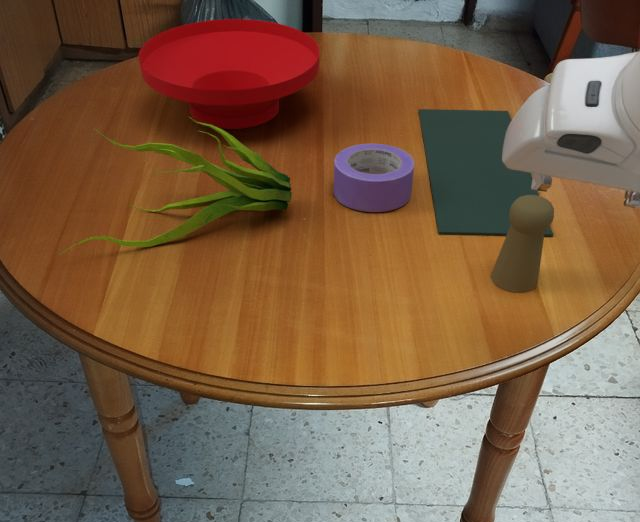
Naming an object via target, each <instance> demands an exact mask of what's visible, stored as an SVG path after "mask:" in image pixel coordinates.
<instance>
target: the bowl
mask: <svg viewBox="0 0 640 522" xmlns="http://www.w3.org/2000/svg"><path fill="white" fill-rule="evenodd" d="M320 55H321V51H320V47H319V45H318V43H317V42H316V41H315V39H314V38H312V37H311V36H310V35H308V34H307V33H305V32H303V31H301V30H299V29H297V28H295V27H292V26H289V25H285V24H282V23H278V22H273V21H267V20H258V19H245V18H244V19H243V18H224V19H210V20H203V21H196V22H192V23H186V24H183V25H179V26H175V27H172V28H169V29H166V30H164V31H162V32H160V33H158V34H156V35H154V36H153V37H151V38H150V39H148V40H147V41H146V42H145V43H144V44H143V45H142V46H141V48H140V49H139V51H138V55H137V57H138V63H139V68H140V74H141V77H142V79H143V80H144V82H145V83H146V85H148V87H150V88H151V89H153V90H154V92H155V91H156V92H157V93H159V94H161V95H163V96H165V97H168V98H171V99H174V100H176V101H177V100H178V101H181V102H185V103H187V104H188V106H189V115H190V116H191V118H192V119H193V120H195V121H196V122H200V123H205V124H210V125H213V126H215V127H218V128H220V129H222V130H242V129H247V128H254V127H258V126H260V125H263V124H266V123H267V122H270V121H271V120H273V118H275V117H276V116H277V115H278V113H279V110H280V101H279V100H280V99H282V98H284V97H287V96H290V95H292V94H295V93H296V92H298V91H301V90H303V89H304V88H306V87H307V86H308V85H310V84H311V83H312V82H313V81H314V80H315V78H316V77H317V75H318V74H319V70H320Z"/></svg>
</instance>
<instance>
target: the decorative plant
mask: <svg viewBox="0 0 640 522" xmlns="http://www.w3.org/2000/svg"><path fill="white" fill-rule="evenodd" d="M187 118H189V119H190V120H192V121H193V122H194V123H196V124H198V125H202V126H204V127H208V128H210V129H211V130H214V131H215V132H216V133H218V134H220V135H221V136H222V137H223V138H224V140H225V141H226V142H227V143H228V145H229V146H226V145H224V144H222V145H221V140H220V139H219V138H218V137H217V136H216V135H213V134H211V133H209V132H206V131H201V130H198V132H200V133H203V134H207V135H209V136H211V137H212V138H214V139H216V141H217V143H218V152H219V157H220V160H221V163H222V166H224V167H225V168H223V167H221V166H219V165H216V164H214V163H212V162H210V161H208V160H207V159H205V158H204V157H202V156H201V154H197V153H195V152H192V151H190V150H187V149H185V148H183V147H181V146H177V145H176V144H172V143H161V142H147V143H143V144H137V145H134V146H133V145H127V144H121V143H118V142H116V141H114V140H113V139H110V138H108V137H107V136H105V135H104V134H102V133H101V132H100V131H99V130H97V129H96V128H94V131H96V132H97V133H99V134H100V136H103V137H104V138H105V139H106V140H108V141H109V142H110V143H112V144H113V145H115V146H118V147H121V148H122V149H127V150H133V151H136V152H154V153H157V154H161V155H164V156H168V157H171V158H174V159H176V160H178V161H181V162H184V163H187V164H190V165H192V166H194V167H190V168H184V169H175V170H169V171H165V173H198V172H202V173H204V174H206V175H208V176H209V177H210V178H211V179H213V180H214V181H215V182H216V183H218V184H220V185H221V186H223V187H225V188H226V189H228V190H224V191H219V192H216V193H212V194H207V195H203V196H199V197H195V198H190V199H188V200H183V201H177V202H173V203H168V204H166V205H164V206H163V207H161V208H159V209H155V210H153V209H146V208H141V207H138V206H135V205H131V204H127V206H130V207H133V208H136V209H138V210H141V211H147V212H151V213H162V212H165V211H168V210H169V211H170V210H187V209H188V210H189V209H196V208H201V207H202V209H200V210H199V211H198V212H196V213H195V214H194V215H192V216H191V217H189V218H188V219H186V221H184V222H183V223H181V224H180V225H178V226H177V227H175V228H171V229H170V230H168V231H166V232H163V233H161V234H159V235H157V236H155V237H152V238H150V239H148V240H122V239H119V238H114V237H109V236H106V235H102V236H101V235H100V236H90V237H88V238H86V239H83V240H81V241H79V242H76V243H74V244H72V245H71V246H69V247H68V248H67V249H65V250H64V251H62V252H61V253H59V254H58V256H61V255H63V254H64V253H66V252H67V251H68V250H70V249H71V248H73V247H75V246H78V245H80V244H83V243H85V242H88V241H92V240H103V241H104V240H105V241H109V242H111V243H113V244H117V245H120V246H122V247H135V248H137V247H138V248H150V247H154V246H157V245H161V244H164V243H167V242H171V241H174V240H178V239H181V238H183V237H185V236H187V235H188V234H190V233H192V232H194V231H196V230H197V229H200V228H201V227H204V226H205V225H207V224H209V223H211V222H213V221H215V220H217V219H219V218H221V217H223V216H225V215H227V214H229V213H231V212H232V213H233V212H240V211H258V212H265V211H272V210H279V211H287V210H288V207H289V203H291V202H292V196H293V195H292V194H293V192H292V185H291V183H290V182H291V177H289V175H288V174H286V173H282V172H280V171H278V170H276V168H274V167H273V166H272V165H271V164H270V163H268V162H267V161H266V160H265V159H264V158H263V157H262V156H261V155H260V154H259V153H258V152H255V151H254V150H253V151H252V150H251V149H250V148H248V147H247V146H245V144H243V143H242V142H240V141H239V140H238V139H237V138H235V136H233V135H231V133H229V132H227V131H226V130H225V129H220V128H218V127H215V126H213V125H210V124H205V123H200V122H198V121H197V120H195V119H194V118H193V117H192V116H189V115H188V117H187ZM222 146H223V147H225V148H227V149H232V150H233V151H234V152H235V153H236V154H237V156H239V157H240V158H241V160H243V161H244V162H245V163H247V164H249V165H251V167H253V168H255V169H253V168H248V167H244V166H241V165H238V164H237V163H235V162H233V161H230V160H228V159H226V157H225V155H224V152H223V150H222ZM226 168H227V169H226ZM156 173H157V174H159V173H162V171H153V172H152V174H156Z"/></svg>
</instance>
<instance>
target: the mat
mask: <svg viewBox="0 0 640 522" xmlns="http://www.w3.org/2000/svg"><path fill="white" fill-rule="evenodd" d="M418 117H419V123H420V128H421V135H422V141H423V148H424V153H425V154H424V155H425V160H426V166H427V172H428V180H429V185H430V191H431V197H432V203H433V209H434V210H433V211H434V216H435V222H436V229H437V234H438V235H455V236H456V235H459V236H499V237H506V235H507V233H508V230H509V228H510V225H511V223H510V221H509V212H510V207H511V206H512V204H513V203H514V201H515V200H516V199H517V198H519V197H521V196H526V195H537V196H540V194H539V191H538V190H532V189H531V186H532V179H533V176H532V173H529V172H524V171H518V170H512V169H509V168H507V167H506V166H505V164H504V163H503V161H502V152H503V145H504V139H505V134H506V131H507V128H508V126H509V124H510V122H511V121H512V118H511V115H510V112H509V110H493V109H492V110H489V109H488V110H487V109H486V110H485V109H483V110H482V109H441V108H439V109H434V108H433V109H432V108H418ZM553 236H554V232H553V229H552V227H551V225H550V226H549V228H548V229H547V230H545V234H544V238H545V237H546V238H549V237H551V238H552V237H553Z"/></svg>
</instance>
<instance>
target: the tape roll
mask: <svg viewBox="0 0 640 522" xmlns="http://www.w3.org/2000/svg"><path fill="white" fill-rule="evenodd" d="M333 161H334V164H333V166H334V167H333V195H334V197H335V200H336V201H338V202H339V203H340V204H341V205H343V206H344V207H347V208H349V209H352V210H355V211H360V212H367V213H386V212H390V211H394V210H397V209H400V208H402V207H404V206H405V205H407V204H408V202H410V199H411V197H412V190H413V183H414V182H413V181H414V172H415V160H414V158H413V157H412V156H411V154H410V153H409V152H407V151H405V150H404V149H402V148H400V147H397V146H393V145H389V144H382V143H361V144H355V145H352V146H349V147H346V148H343V149H341V151H339V152H338V153H337V154H336V155H335V157H334V160H333Z"/></svg>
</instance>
